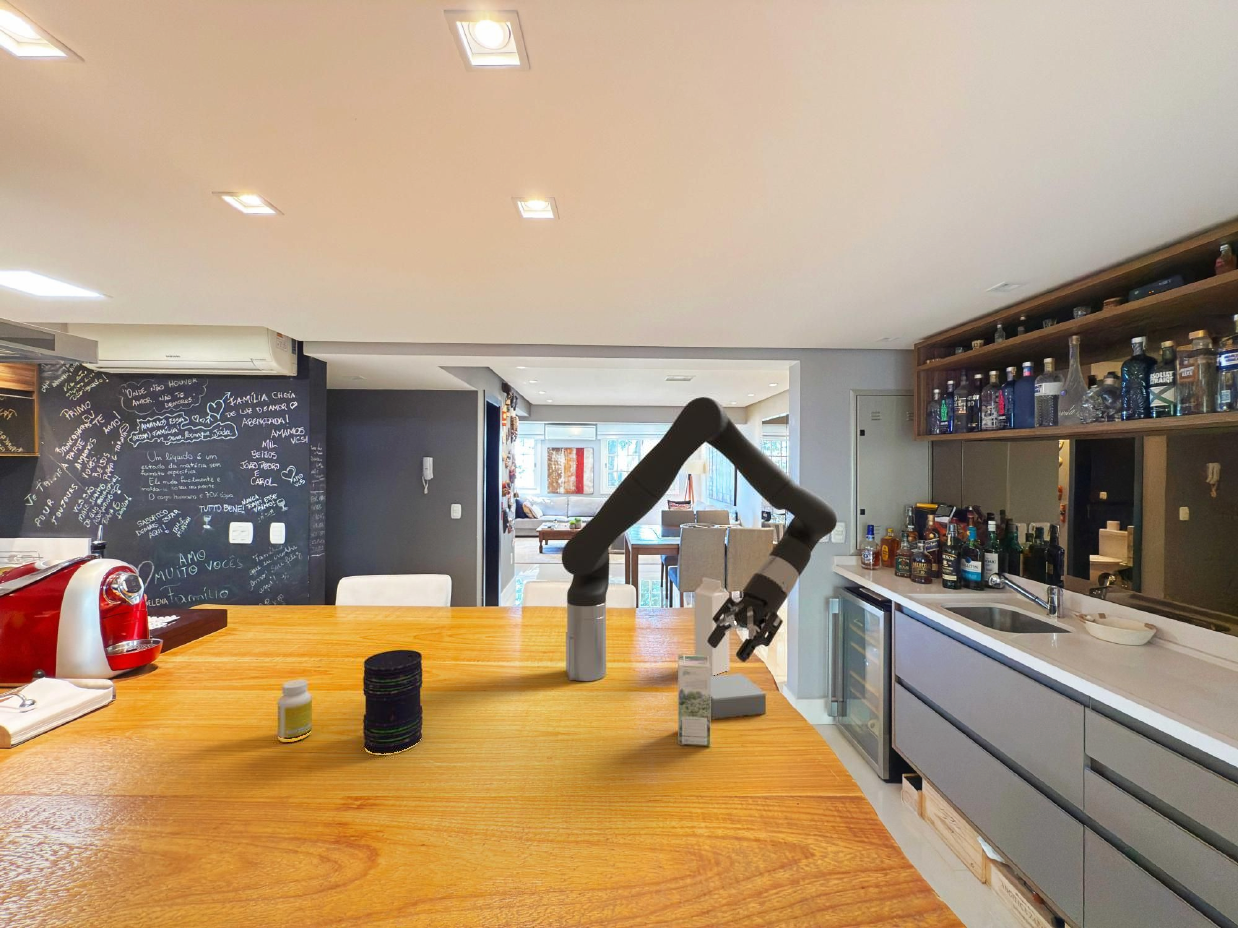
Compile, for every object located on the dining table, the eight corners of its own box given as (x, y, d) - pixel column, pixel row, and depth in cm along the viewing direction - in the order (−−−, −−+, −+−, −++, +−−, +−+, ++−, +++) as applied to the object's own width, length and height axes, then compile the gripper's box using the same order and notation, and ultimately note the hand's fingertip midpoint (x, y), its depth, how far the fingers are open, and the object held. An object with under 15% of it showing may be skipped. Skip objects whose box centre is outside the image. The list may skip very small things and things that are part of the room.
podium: (713, 719, 108) (713, 698, 108) (694, 696, 119) (694, 677, 119) (765, 713, 110) (765, 693, 110) (741, 691, 121) (741, 673, 121)
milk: (712, 676, 130) (711, 583, 130) (694, 669, 135) (693, 578, 134) (730, 670, 133) (729, 579, 133) (711, 663, 138) (711, 575, 138)
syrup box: (708, 731, 103) (708, 653, 103) (711, 747, 97) (710, 665, 97) (678, 730, 103) (677, 652, 103) (678, 746, 98) (678, 664, 98)
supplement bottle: (318, 732, 103) (318, 679, 103) (292, 746, 98) (292, 690, 98) (296, 727, 105) (296, 676, 105) (270, 741, 100) (270, 686, 100)
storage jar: (364, 761, 93) (364, 672, 93) (361, 736, 101) (361, 654, 102) (426, 747, 97) (426, 662, 97) (418, 724, 106) (418, 646, 106)
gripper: (736, 566, 114) (691, 629, 109) (787, 578, 101) (738, 651, 96) (756, 589, 116) (712, 652, 111) (808, 604, 104) (762, 676, 98)
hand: (724, 651), depth 104 cm, fingers open, 8 cm apart
